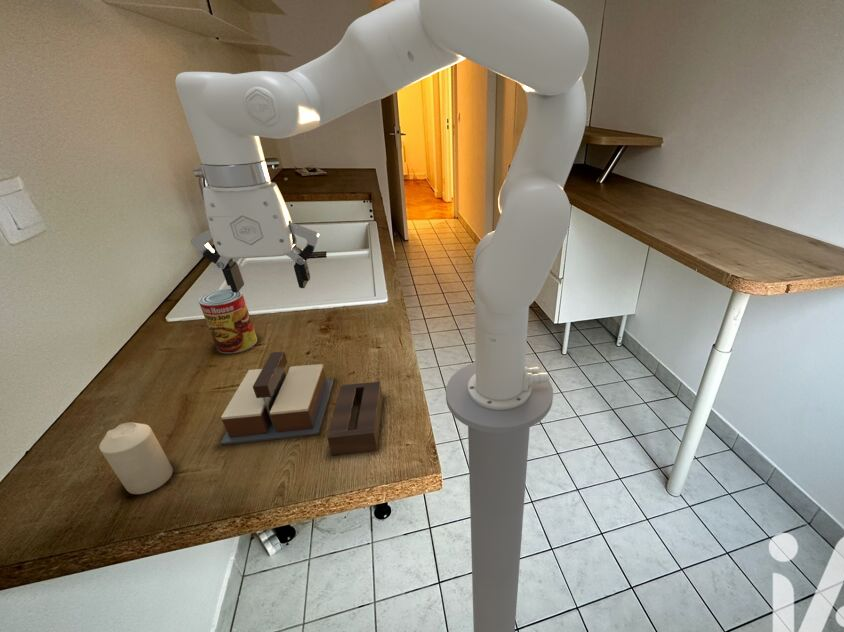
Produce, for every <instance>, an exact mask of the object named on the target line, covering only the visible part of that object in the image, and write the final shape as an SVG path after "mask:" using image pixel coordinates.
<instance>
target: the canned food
mask: <svg viewBox="0 0 844 632" xmlns="http://www.w3.org/2000/svg"><path fill="white" fill-rule="evenodd" d="M198 304H199V307H200V309H201V311H202V314H203V317H204V320H205V321H206V325H207V327H208V330H209V332H210V334H211V337H212V340H213V342H214V344H215V347H216V350H217V351H218V352H219V353H222V354H235V353H236V354H237V353H241V352H244V351H247V350H248V349H250V348H252V347H254V346H255V345H256V344H257V342H258V337H257V334H256V331H255V327H254V324H253V321H252V319H251V316H250V313H249V309H248V307H247V303H246V300H245V297H244V294H243V292H242V291H241V289H240V290H239V291H238V292H235V293H233V292H232V290H231V288H221V289H217V290H213V291H210V292H206V293H205V294H203V295H201V296H200V297H199V299H198Z"/></svg>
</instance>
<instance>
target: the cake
mask: <svg viewBox="0 0 844 632" xmlns="http://www.w3.org/2000/svg"><path fill="white" fill-rule="evenodd" d="M262 369H263V368H255V369H248V370H247V372H246V374H245V375H244V378H243V379H242V380H241V383H240V384H239V386H238V388H237V389H236V391H235V393H234V395H233V396H232V398H230V401H229V403H228V404H227V406H226V408H225V409H224V411H223V413H222V414H221V416H220V419H221V422H222V423H223V426H224V428H225V430H226V432H225V434H224V436H223V437H222V439H221V441H220V445H221V446H230V445H237V444H247V443H255V442H265V441H274V440H275V441H276V440H283V439H291V438H301V437H302V438H303V437H308V436H309V437H310V436H311V437H312V436H317V435H318V436H319V435H320V431H321V428H322V425H323V421H324V417H325V414H326V410H327V407H328V403H329V400H330V396H331V393H332V389H333V386H334V382H335V380H334V378H329V379H328V378H327V376H326V372H325V368H324V364H323V363H318V364H317V363H316V364H305V365H292V366H290V367H289V368H288V371H287V373H286V378H285V380H284V382H283V384H282V386H281V389H280V391H279V393H278V395H277V397H276V400H275V402H274V404H273V406H272V409H271V411H270V415H271V418H272V420H273V423H274V426H275V427H273V426H272V423H271V420H270V417H269V414H268V412H267V409H266V406H265V403H264V400H263V398H256V395H255V392H254V389H253V385H254V383H255V382H256V380H257V378H258V376H259V374H260V372H261V371H262Z"/></svg>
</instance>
